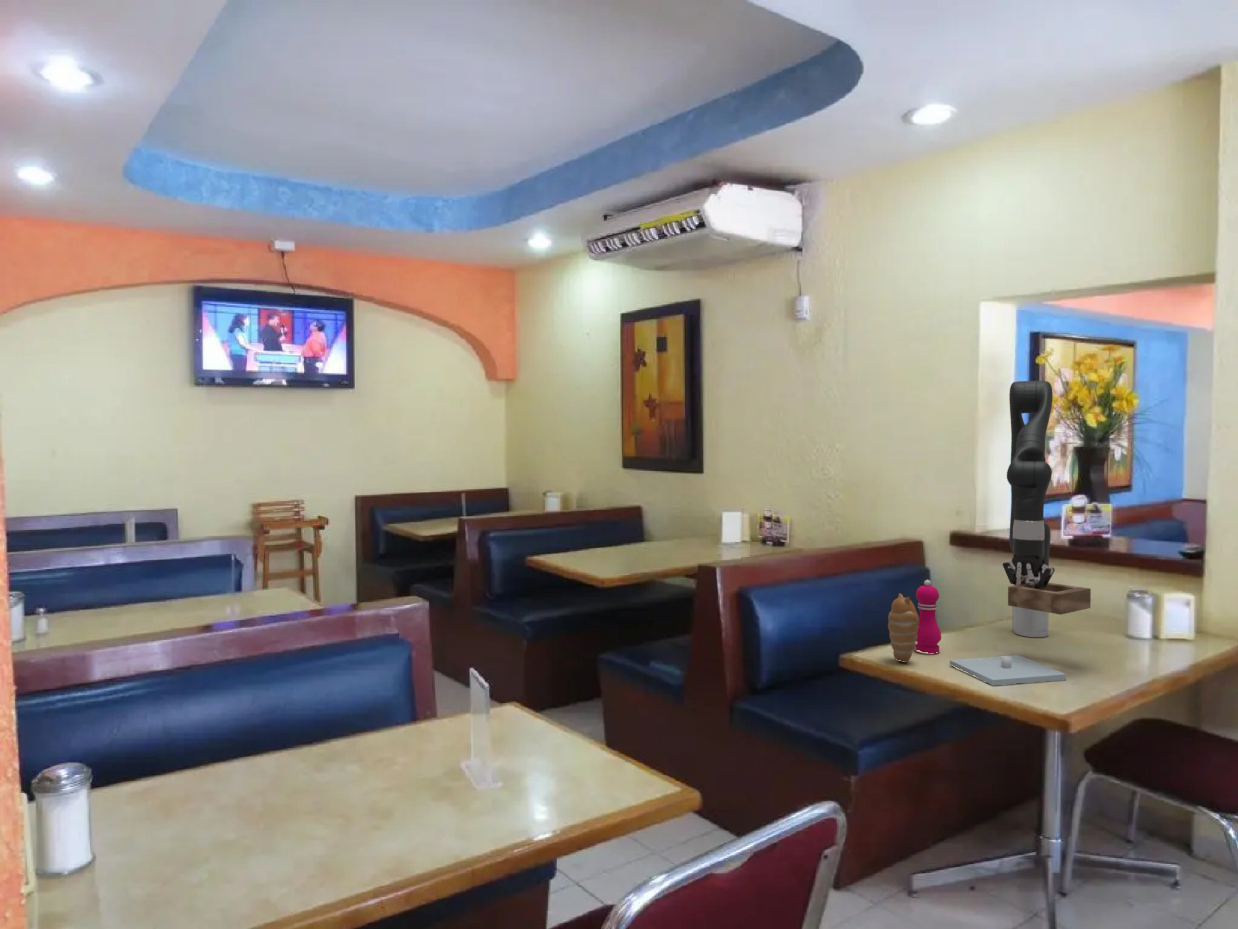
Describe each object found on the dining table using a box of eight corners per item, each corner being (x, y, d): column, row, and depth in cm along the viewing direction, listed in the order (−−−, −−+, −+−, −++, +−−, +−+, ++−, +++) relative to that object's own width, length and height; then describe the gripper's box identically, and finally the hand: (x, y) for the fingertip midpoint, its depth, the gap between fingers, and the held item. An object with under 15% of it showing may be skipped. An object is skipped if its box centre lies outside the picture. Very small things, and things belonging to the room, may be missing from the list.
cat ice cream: (924, 666, 226) (925, 597, 225) (896, 667, 225) (896, 598, 224) (908, 657, 235) (908, 591, 234) (881, 658, 233) (881, 592, 232)
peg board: (949, 665, 226) (949, 650, 226) (1017, 660, 230) (1018, 645, 230) (992, 686, 208) (993, 669, 208) (1065, 680, 212) (1066, 664, 212)
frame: (1008, 605, 226) (1008, 586, 226) (1037, 599, 234) (1038, 581, 234) (1060, 614, 214) (1061, 594, 214) (1090, 608, 222) (1090, 588, 222)
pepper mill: (920, 646, 245) (921, 576, 244) (945, 651, 240) (946, 579, 239) (908, 651, 240) (908, 580, 239) (933, 656, 235) (934, 583, 234)
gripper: (995, 535, 232) (995, 600, 233) (1046, 540, 220) (1045, 608, 221) (1011, 533, 236) (1011, 597, 237) (1062, 538, 225) (1061, 605, 225)
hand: (1027, 602), depth 229 cm, fingers closed on frame, 2 cm apart
